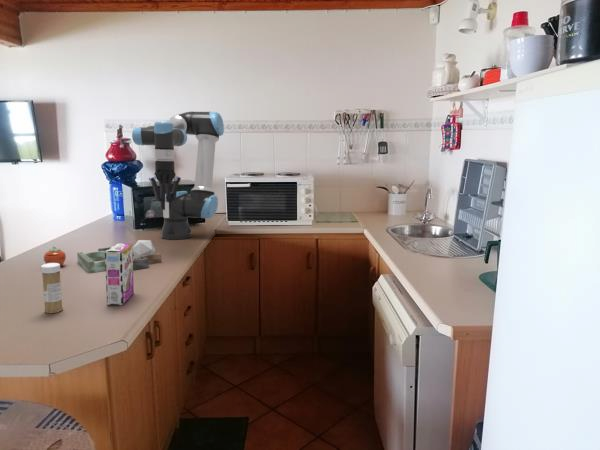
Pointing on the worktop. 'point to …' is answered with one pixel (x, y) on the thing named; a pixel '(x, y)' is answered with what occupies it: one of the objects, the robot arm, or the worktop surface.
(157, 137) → the robot arm
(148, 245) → the die
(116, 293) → the candy bar box
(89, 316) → the worktop surface
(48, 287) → the sprinkles bottle
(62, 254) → the tomato
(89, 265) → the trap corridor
